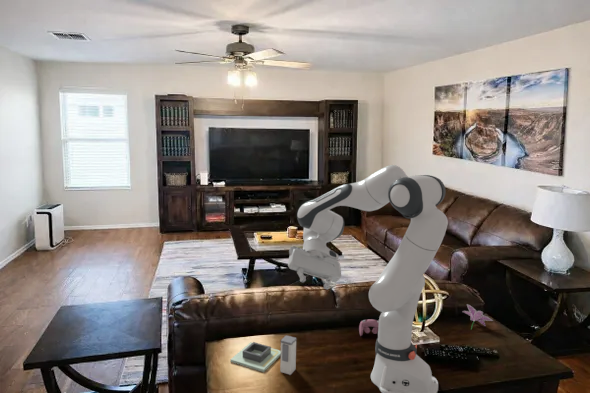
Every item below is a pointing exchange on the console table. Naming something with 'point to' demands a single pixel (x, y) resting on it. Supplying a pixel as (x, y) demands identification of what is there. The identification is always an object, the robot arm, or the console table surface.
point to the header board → (256, 356)
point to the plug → (288, 355)
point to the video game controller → (366, 324)
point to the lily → (476, 315)
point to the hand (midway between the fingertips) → (314, 284)
